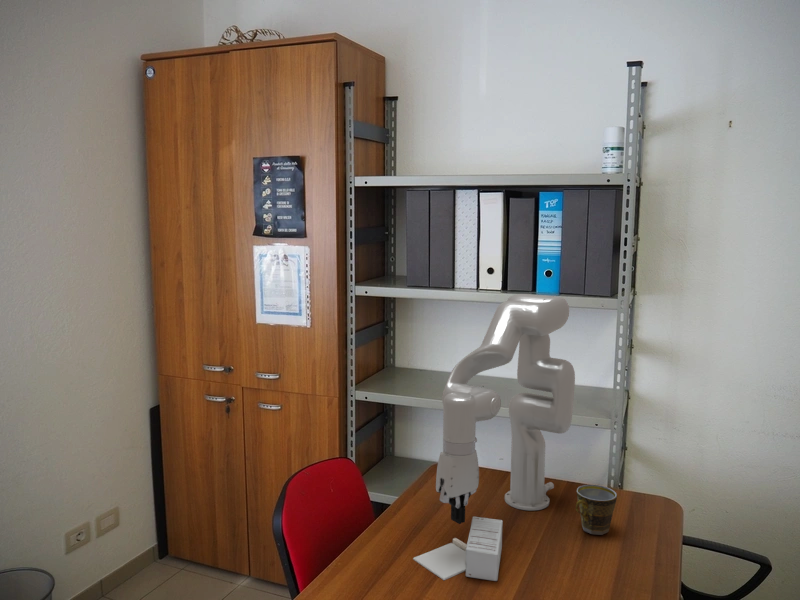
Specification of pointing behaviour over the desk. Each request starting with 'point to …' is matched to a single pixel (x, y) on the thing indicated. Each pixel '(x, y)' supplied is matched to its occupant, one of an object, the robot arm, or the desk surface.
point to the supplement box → (484, 548)
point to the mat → (444, 561)
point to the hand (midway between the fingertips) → (457, 520)
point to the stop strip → (459, 544)
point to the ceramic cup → (596, 508)
